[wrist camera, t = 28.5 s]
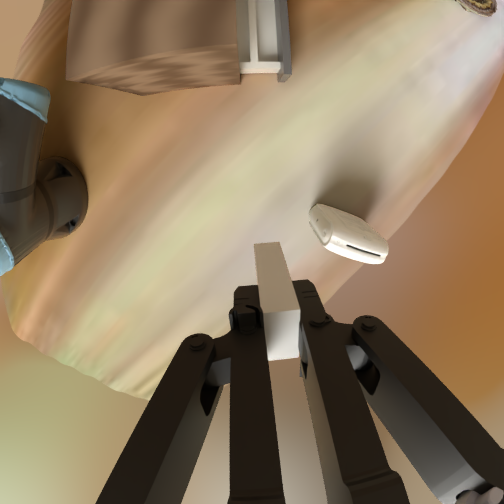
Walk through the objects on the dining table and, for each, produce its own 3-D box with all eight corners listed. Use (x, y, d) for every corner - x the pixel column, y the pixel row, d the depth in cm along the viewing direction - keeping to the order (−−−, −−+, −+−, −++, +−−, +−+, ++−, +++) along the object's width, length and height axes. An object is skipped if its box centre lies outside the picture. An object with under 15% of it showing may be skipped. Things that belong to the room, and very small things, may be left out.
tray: (152, 92, 36) (137, 87, 30) (153, -6, 28) (141, -22, 22) (284, 82, 36) (291, 74, 30) (278, -17, 28) (283, -36, 22)
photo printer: (304, 223, 46) (322, 255, 35) (313, 199, 44) (336, 225, 33) (356, 240, 48) (385, 274, 36) (365, 218, 46) (399, 247, 35)
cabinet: (142, 95, 36) (65, 79, 17) (144, -4, 28) (88, -62, 9) (240, 84, 36) (237, 44, 17) (236, -17, 28) (232, -96, 9)
